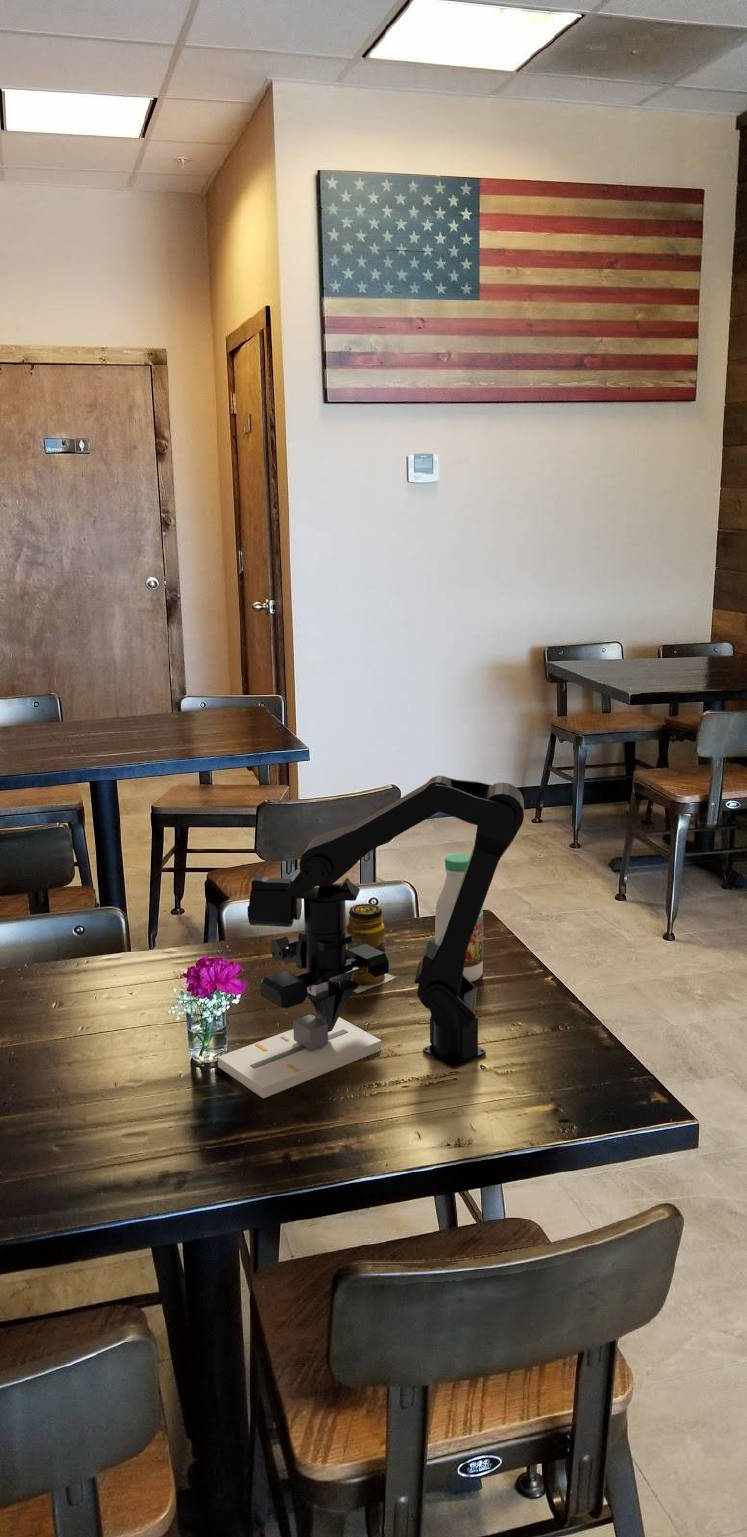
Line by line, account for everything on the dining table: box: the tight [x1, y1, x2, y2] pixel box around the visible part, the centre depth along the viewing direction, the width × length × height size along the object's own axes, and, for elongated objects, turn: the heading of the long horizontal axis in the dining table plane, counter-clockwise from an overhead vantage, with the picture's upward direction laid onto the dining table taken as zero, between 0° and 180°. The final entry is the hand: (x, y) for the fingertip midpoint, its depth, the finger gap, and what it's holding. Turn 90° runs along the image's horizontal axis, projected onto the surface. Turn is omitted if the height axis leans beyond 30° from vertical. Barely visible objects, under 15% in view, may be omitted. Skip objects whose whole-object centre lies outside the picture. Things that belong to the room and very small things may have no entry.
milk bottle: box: [434, 853, 484, 983], centre depth 181 cm, size 8×8×20 cm
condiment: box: [346, 903, 397, 994], centre depth 181 cm, size 7×8×12 cm
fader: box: [292, 1013, 328, 1050], centre depth 157 cm, size 4×3×3 cm
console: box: [217, 1016, 382, 1099], centre depth 157 cm, size 11×20×2 cm, turn 129°
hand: (327, 1030), depth 159 cm, fingers closed
